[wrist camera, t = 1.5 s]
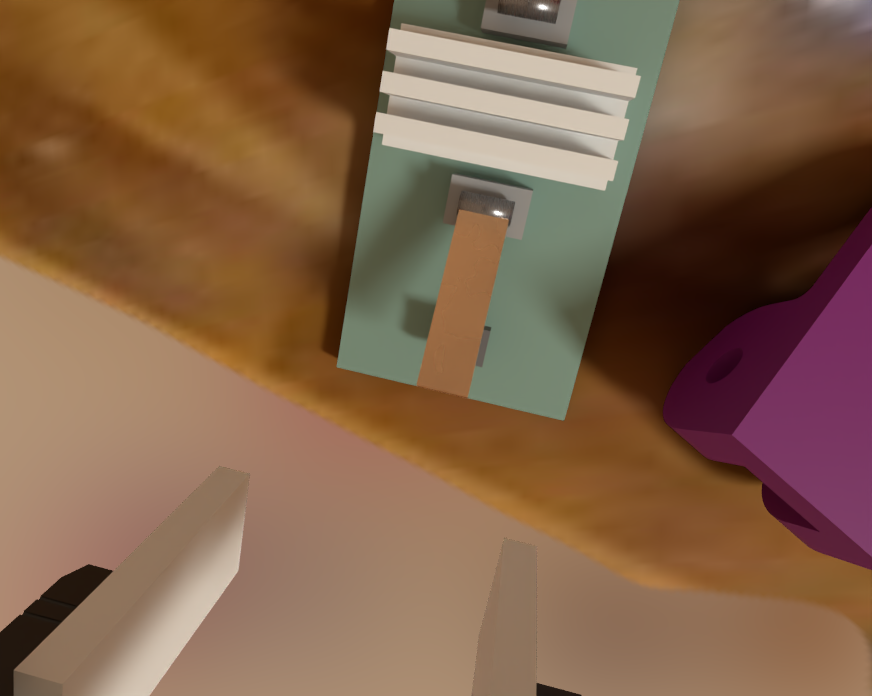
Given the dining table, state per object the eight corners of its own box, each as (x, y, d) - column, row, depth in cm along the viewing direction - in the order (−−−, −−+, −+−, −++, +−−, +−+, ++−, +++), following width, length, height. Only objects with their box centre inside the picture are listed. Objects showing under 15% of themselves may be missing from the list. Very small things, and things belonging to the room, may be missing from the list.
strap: (462, 195, 33) (462, 186, 32) (514, 206, 33) (515, 198, 32) (415, 386, 32) (413, 384, 31) (469, 399, 32) (469, 397, 31)
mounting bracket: (828, 177, 38) (639, 423, 36) (964, 119, 30) (730, 433, 28) (945, 287, 39) (768, 535, 37) (1110, 259, 31) (895, 578, 28)
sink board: (441, -264, 30) (411, -393, 23) (735, -219, 29) (800, -339, 22) (342, 360, 39) (298, 408, 32) (563, 412, 38) (569, 474, 31)
